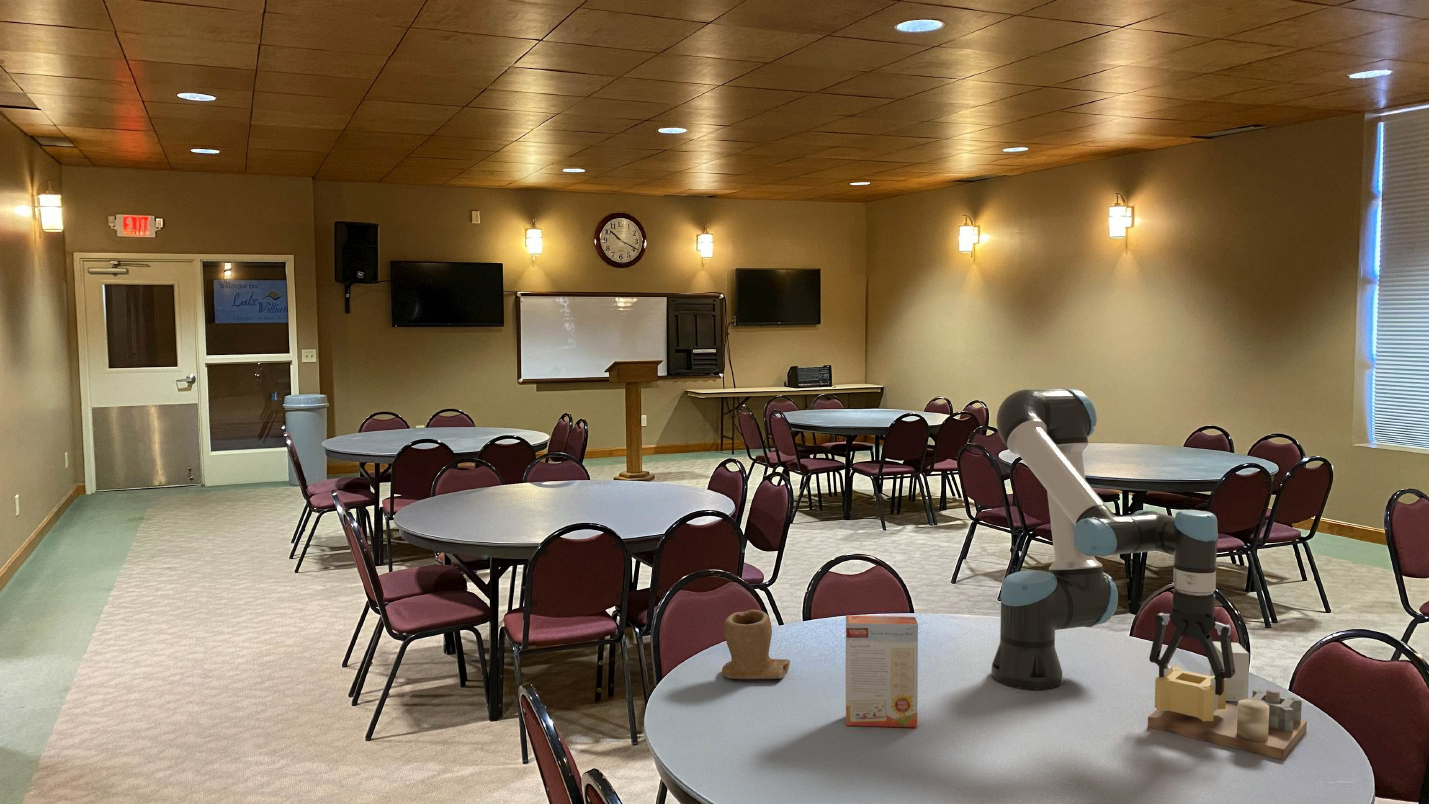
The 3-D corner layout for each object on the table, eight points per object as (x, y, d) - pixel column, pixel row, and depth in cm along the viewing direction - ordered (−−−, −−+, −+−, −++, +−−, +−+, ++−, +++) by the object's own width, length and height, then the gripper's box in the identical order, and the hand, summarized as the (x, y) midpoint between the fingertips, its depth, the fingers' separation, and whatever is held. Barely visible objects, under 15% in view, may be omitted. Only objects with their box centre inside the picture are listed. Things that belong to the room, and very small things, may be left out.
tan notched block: (1152, 709, 205) (1153, 679, 205) (1170, 694, 214) (1171, 665, 213) (1210, 723, 198) (1212, 692, 198) (1227, 707, 206) (1228, 677, 206)
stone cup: (719, 686, 229) (719, 618, 228) (724, 668, 241) (724, 603, 240) (788, 688, 227) (789, 620, 226) (790, 670, 239) (790, 605, 238)
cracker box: (915, 717, 211) (916, 615, 209) (917, 729, 205) (919, 623, 203) (844, 714, 212) (845, 613, 210) (845, 726, 206) (846, 621, 204)
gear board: (1147, 726, 206) (1148, 686, 205) (1177, 701, 219) (1178, 664, 219) (1283, 760, 190) (1285, 717, 189) (1306, 730, 203) (1308, 690, 203)
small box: (1248, 703, 218) (1250, 653, 218) (1219, 701, 220) (1221, 651, 219) (1237, 689, 226) (1238, 642, 225) (1209, 688, 227) (1210, 640, 227)
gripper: (1132, 585, 208) (1129, 697, 210) (1246, 603, 195) (1242, 723, 196) (1146, 578, 214) (1142, 687, 216) (1257, 595, 200) (1252, 712, 202)
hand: (1190, 704), depth 206 cm, fingers closed on tan notched block, 8 cm apart
